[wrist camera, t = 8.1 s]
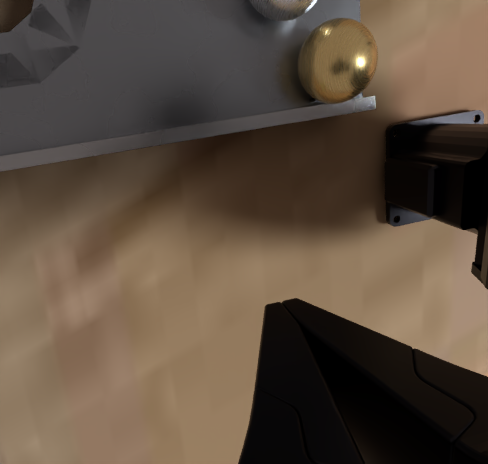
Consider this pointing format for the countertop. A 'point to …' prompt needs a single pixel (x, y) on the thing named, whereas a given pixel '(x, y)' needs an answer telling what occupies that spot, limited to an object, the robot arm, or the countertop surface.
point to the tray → (152, 75)
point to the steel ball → (283, 8)
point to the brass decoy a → (337, 60)
